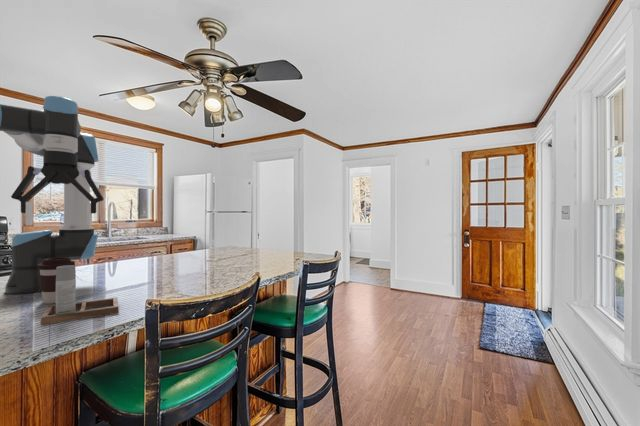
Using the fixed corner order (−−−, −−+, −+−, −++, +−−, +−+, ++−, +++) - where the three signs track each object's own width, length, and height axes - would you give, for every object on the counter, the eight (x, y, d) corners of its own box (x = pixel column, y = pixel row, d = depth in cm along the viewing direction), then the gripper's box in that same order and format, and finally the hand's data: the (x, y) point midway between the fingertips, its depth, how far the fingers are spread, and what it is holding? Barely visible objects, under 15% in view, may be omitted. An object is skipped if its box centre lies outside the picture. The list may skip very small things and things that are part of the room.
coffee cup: (52, 306, 100) (52, 261, 99) (29, 304, 102) (29, 260, 101) (81, 298, 109) (82, 256, 109) (60, 296, 111) (60, 255, 111)
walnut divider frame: (47, 312, 94) (48, 306, 94) (117, 303, 104) (117, 297, 104) (40, 324, 84) (40, 317, 84) (118, 313, 94) (118, 306, 94)
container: (59, 313, 93) (60, 265, 93) (78, 312, 95) (78, 264, 94) (52, 318, 89) (52, 268, 88) (71, 317, 90) (72, 267, 90)
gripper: (-5, 144, 78) (-6, 226, 78) (111, 154, 90) (110, 224, 90) (6, 149, 84) (6, 224, 85) (114, 158, 97) (113, 223, 97)
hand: (60, 224), depth 87 cm, fingers open, 13 cm apart
